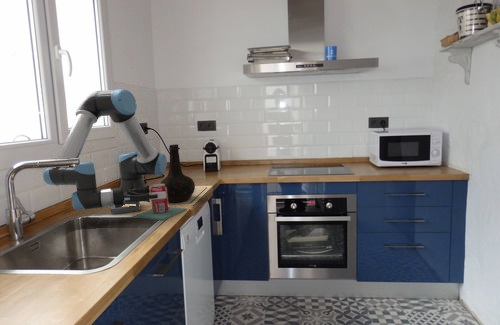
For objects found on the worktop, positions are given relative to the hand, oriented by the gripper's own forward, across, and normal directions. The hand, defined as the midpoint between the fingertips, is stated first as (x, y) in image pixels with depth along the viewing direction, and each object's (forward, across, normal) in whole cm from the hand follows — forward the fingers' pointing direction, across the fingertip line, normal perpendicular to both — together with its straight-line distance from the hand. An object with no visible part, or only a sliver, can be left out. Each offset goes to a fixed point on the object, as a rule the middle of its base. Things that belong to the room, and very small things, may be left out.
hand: (165, 191), depth 158 cm
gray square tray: (-18, -16, -10) cm, 26 cm away
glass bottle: (+7, -23, -10) cm, 25 cm away
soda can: (-3, 0, -9) cm, 9 cm away
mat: (-3, 0, -10) cm, 10 cm away
